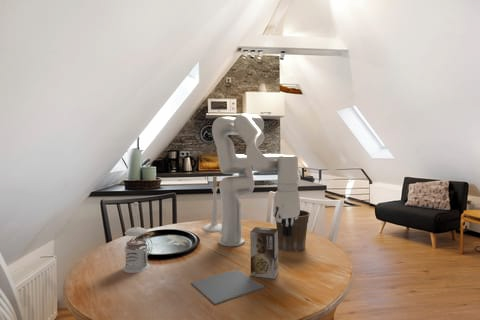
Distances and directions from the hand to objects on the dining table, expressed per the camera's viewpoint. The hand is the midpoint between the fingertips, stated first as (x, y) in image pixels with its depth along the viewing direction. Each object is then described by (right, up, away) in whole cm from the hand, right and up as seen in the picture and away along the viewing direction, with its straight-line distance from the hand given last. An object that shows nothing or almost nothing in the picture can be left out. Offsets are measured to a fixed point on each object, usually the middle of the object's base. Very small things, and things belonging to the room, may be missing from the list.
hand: (287, 235), depth 111 cm
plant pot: (+6, -11, +23) cm, 26 cm away
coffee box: (-9, -13, -6) cm, 16 cm away
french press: (-56, -12, 0) cm, 58 cm away
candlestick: (-32, -10, +53) cm, 62 cm away
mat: (-22, -13, -15) cm, 29 cm away
